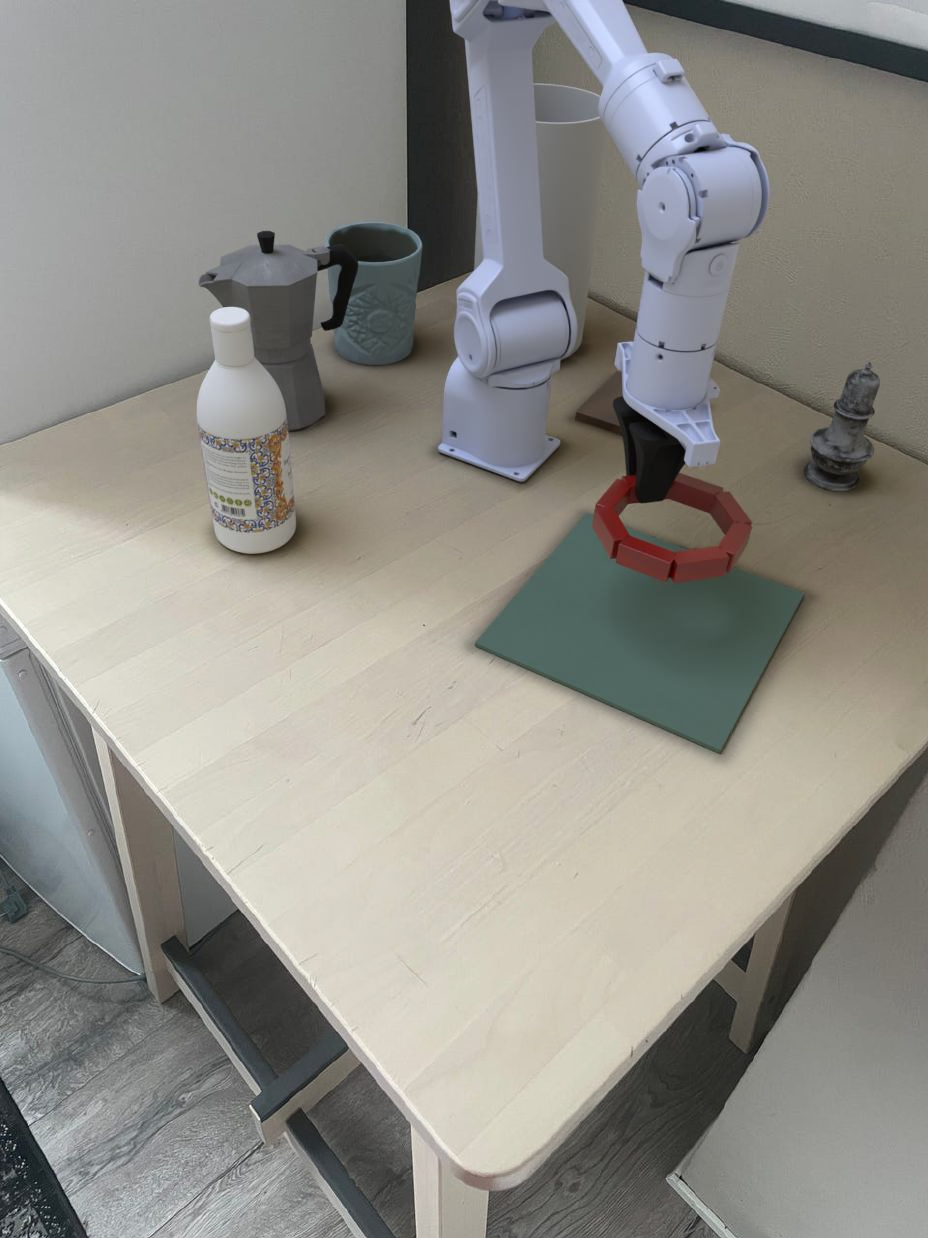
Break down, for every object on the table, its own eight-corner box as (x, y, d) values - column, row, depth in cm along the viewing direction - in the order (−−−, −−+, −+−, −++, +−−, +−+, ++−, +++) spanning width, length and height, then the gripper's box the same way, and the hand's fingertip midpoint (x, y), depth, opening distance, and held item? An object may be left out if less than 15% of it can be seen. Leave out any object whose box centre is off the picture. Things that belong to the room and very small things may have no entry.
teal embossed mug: (363, 317, 119) (360, 213, 110) (438, 341, 115) (441, 235, 107) (311, 352, 112) (303, 245, 104) (388, 379, 108) (387, 270, 100)
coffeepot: (236, 448, 98) (212, 265, 86) (203, 401, 104) (176, 224, 92) (381, 410, 104) (378, 234, 92) (342, 368, 110) (334, 198, 98)
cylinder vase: (495, 306, 122) (510, 76, 105) (595, 329, 119) (627, 95, 102) (453, 351, 113) (461, 109, 97) (559, 378, 110) (588, 131, 93)
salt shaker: (865, 497, 96) (908, 383, 88) (801, 488, 97) (837, 373, 89) (860, 463, 100) (900, 351, 92) (799, 454, 101) (833, 342, 93)
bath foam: (293, 557, 86) (272, 338, 73) (209, 556, 86) (173, 336, 72) (300, 507, 91) (282, 294, 78) (221, 506, 91) (189, 292, 77)
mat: (474, 646, 79) (474, 642, 79) (586, 515, 92) (586, 512, 92) (719, 754, 72) (720, 750, 72) (803, 596, 85) (804, 592, 85)
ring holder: (574, 419, 104) (581, 371, 100) (615, 378, 111) (622, 331, 107) (666, 450, 101) (676, 401, 97) (702, 406, 107) (713, 358, 103)
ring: (571, 546, 76) (574, 527, 75) (631, 475, 83) (634, 456, 82) (712, 600, 72) (717, 581, 71) (762, 521, 79) (768, 502, 78)
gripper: (777, 378, 67) (732, 542, 76) (687, 283, 77) (657, 437, 87) (677, 389, 66) (644, 554, 75) (599, 290, 76) (578, 446, 85)
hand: (645, 492), depth 81 cm, fingers closed on ring, 1 cm apart
